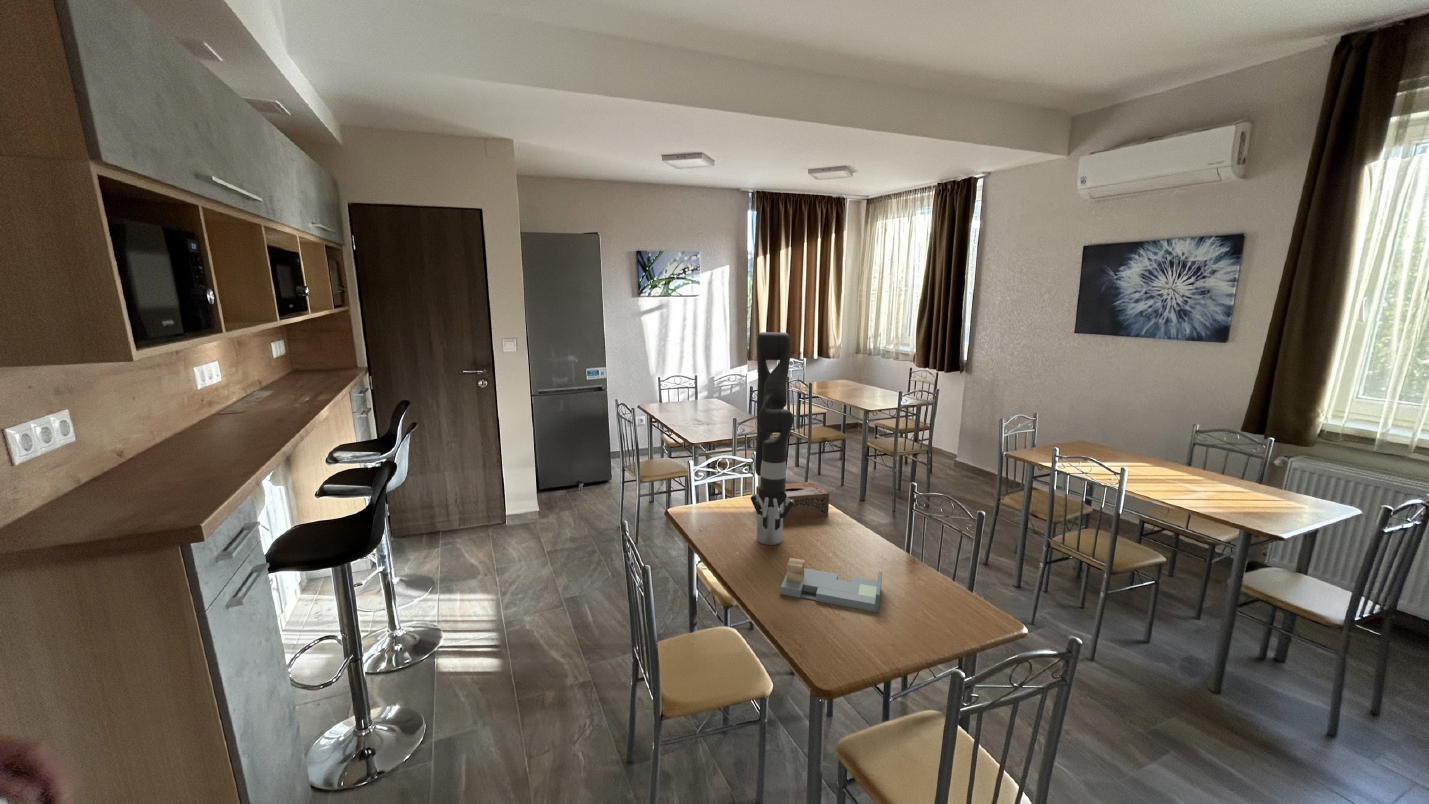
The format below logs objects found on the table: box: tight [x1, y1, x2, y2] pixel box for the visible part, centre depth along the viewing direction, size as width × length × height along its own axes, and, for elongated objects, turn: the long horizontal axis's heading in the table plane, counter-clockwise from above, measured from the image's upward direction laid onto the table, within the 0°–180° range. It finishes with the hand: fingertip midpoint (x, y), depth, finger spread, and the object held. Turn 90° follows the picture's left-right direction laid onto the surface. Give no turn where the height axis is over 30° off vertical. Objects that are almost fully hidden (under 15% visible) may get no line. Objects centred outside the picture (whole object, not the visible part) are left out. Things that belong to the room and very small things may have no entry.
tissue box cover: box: [755, 481, 830, 522], centre depth 229 cm, size 26×14×10 cm, turn 105°
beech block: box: [786, 557, 806, 582], centre depth 172 cm, size 4×4×5 cm
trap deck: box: [779, 567, 883, 613], centre depth 169 cm, size 14×28×5 cm, turn 71°
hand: (771, 528), depth 172 cm, fingers closed
